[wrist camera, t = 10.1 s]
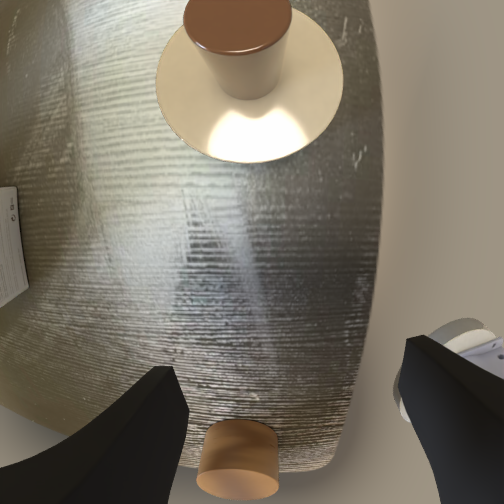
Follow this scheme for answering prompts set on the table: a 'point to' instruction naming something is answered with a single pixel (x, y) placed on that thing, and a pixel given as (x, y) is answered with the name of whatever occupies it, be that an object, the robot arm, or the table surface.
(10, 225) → the white product box
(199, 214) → the table surface
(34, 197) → the table surface
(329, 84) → the lid
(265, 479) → the stand
